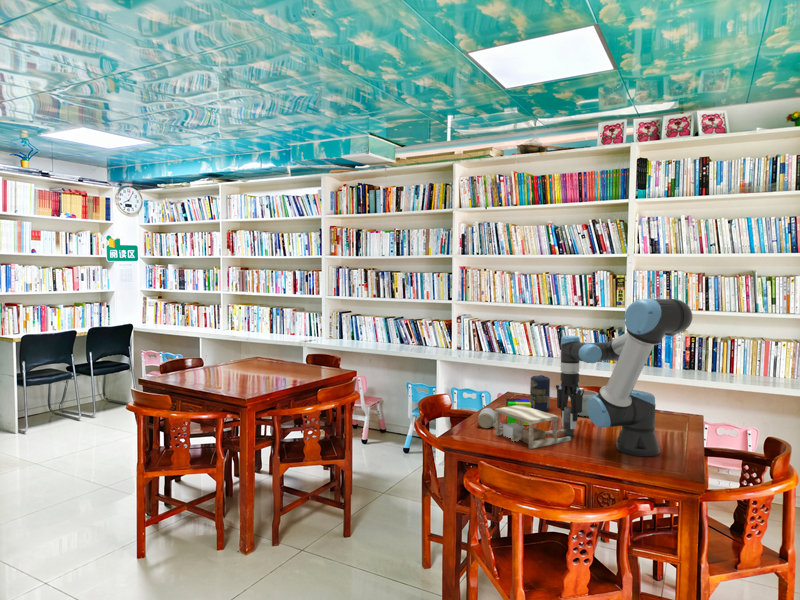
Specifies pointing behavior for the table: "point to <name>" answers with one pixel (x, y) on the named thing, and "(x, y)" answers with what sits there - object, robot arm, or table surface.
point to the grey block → (512, 429)
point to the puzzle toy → (513, 403)
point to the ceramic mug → (487, 418)
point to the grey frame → (541, 434)
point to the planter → (586, 396)
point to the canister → (540, 392)
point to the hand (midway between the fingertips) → (569, 427)
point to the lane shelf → (530, 417)
